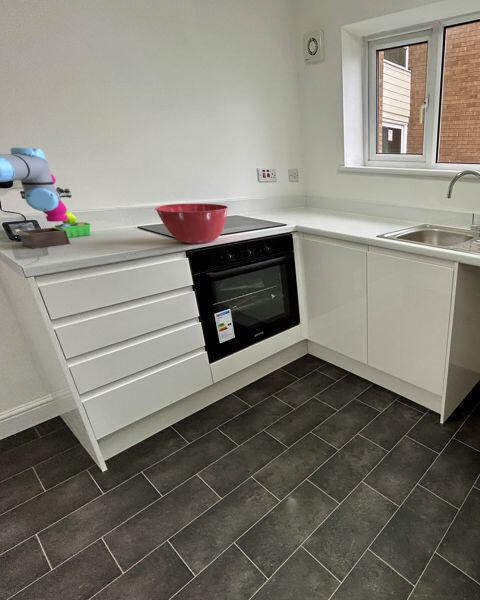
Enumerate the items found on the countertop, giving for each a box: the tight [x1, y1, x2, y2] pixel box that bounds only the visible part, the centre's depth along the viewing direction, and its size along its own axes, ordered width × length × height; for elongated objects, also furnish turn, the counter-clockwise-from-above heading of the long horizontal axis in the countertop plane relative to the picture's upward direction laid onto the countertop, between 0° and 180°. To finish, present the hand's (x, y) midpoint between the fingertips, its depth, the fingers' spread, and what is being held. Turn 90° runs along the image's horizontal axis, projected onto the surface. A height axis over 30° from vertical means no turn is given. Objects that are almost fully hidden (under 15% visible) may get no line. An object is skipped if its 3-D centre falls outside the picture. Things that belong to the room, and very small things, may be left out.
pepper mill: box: [42, 172, 68, 223], centre depth 136 cm, size 7×7×20 cm
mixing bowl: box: [154, 203, 229, 245], centre depth 159 cm, size 28×28×16 cm
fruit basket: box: [54, 210, 92, 238], centre depth 162 cm, size 11×9×11 cm
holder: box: [17, 226, 71, 249], centre depth 146 cm, size 12×12×6 cm
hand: (49, 190), depth 140 cm, fingers closed on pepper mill, 5 cm apart
